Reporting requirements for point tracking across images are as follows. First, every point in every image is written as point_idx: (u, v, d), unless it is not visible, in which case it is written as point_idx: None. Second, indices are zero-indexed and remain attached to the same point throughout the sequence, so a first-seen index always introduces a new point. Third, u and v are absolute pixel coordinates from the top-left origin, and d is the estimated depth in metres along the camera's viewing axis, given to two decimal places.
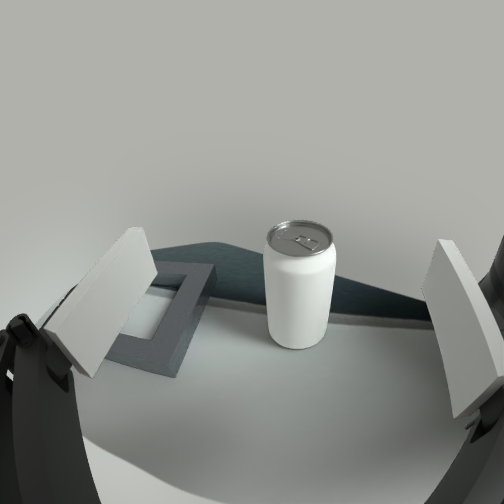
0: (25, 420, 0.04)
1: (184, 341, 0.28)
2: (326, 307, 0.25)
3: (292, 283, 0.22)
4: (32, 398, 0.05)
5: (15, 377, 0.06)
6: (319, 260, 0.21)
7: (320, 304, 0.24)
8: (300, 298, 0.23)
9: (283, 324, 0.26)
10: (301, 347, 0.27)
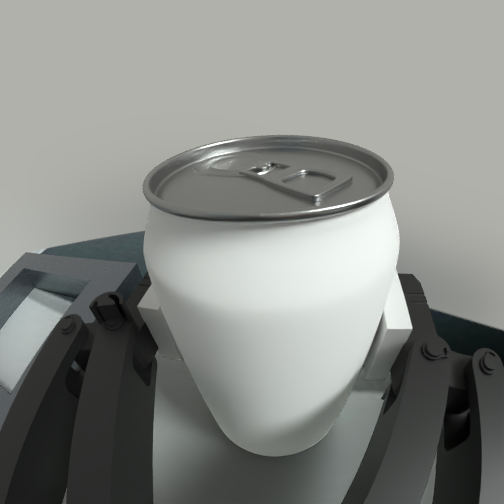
0: (94, 417, 0.05)
1: None
2: (350, 388, 0.08)
3: (226, 346, 0.05)
4: (109, 394, 0.05)
5: (90, 361, 0.06)
6: (350, 246, 0.04)
7: (335, 393, 0.07)
8: (264, 389, 0.06)
9: (229, 424, 0.08)
10: (280, 455, 0.10)
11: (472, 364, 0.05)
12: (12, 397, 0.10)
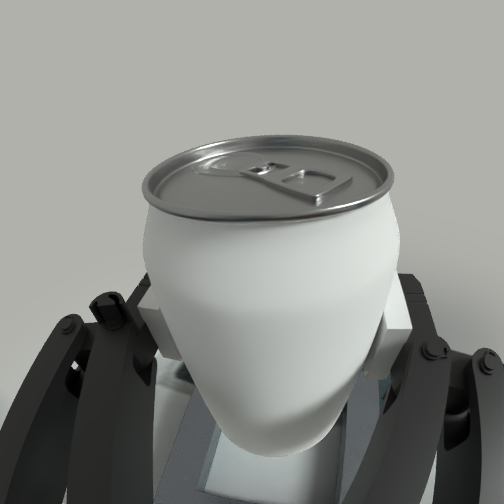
0: (94, 417, 0.05)
1: None
2: (350, 389, 0.08)
3: (226, 348, 0.05)
4: (110, 394, 0.06)
5: (90, 361, 0.06)
6: (351, 246, 0.04)
7: (336, 394, 0.07)
8: (264, 390, 0.06)
9: (229, 425, 0.08)
10: (280, 455, 0.10)
11: (472, 364, 0.05)
12: None
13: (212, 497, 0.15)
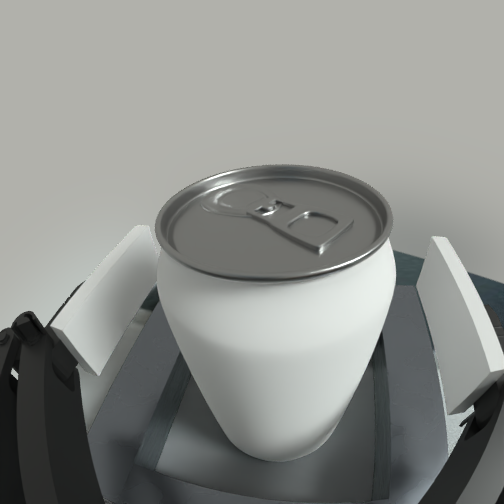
0: (30, 419, 0.04)
1: None
2: (348, 402, 0.08)
3: (237, 377, 0.05)
4: (37, 397, 0.05)
5: (20, 375, 0.06)
6: (349, 295, 0.05)
7: (334, 409, 0.07)
8: (270, 409, 0.06)
9: (236, 434, 0.09)
10: (283, 460, 0.10)
11: None
12: (396, 498, 0.06)
13: (160, 478, 0.08)
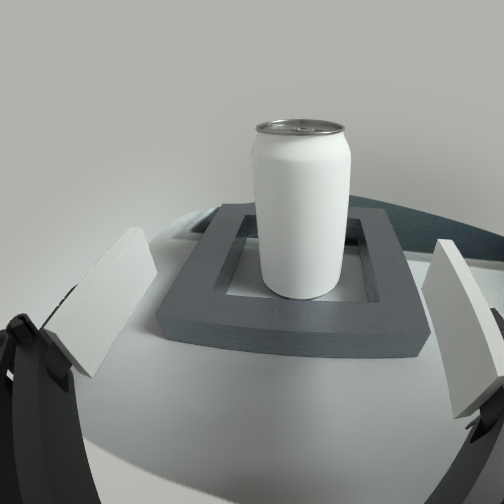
0: (25, 420, 0.04)
1: None
2: (341, 230, 0.18)
3: (292, 178, 0.15)
4: (32, 398, 0.05)
5: (15, 377, 0.06)
6: (329, 145, 0.14)
7: (333, 220, 0.17)
8: (304, 204, 0.16)
9: (281, 255, 0.18)
10: (307, 295, 0.20)
11: None
12: (385, 303, 0.16)
13: (231, 297, 0.18)
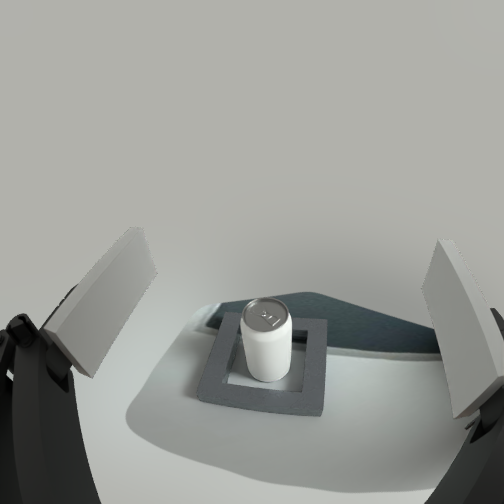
0: (25, 420, 0.04)
1: None
2: (286, 357, 0.35)
3: (258, 346, 0.32)
4: (32, 398, 0.05)
5: (15, 377, 0.06)
6: (276, 333, 0.31)
7: (280, 356, 0.34)
8: (264, 354, 0.33)
9: (255, 367, 0.35)
10: (270, 381, 0.37)
11: None
12: (304, 392, 0.33)
13: (231, 385, 0.35)
